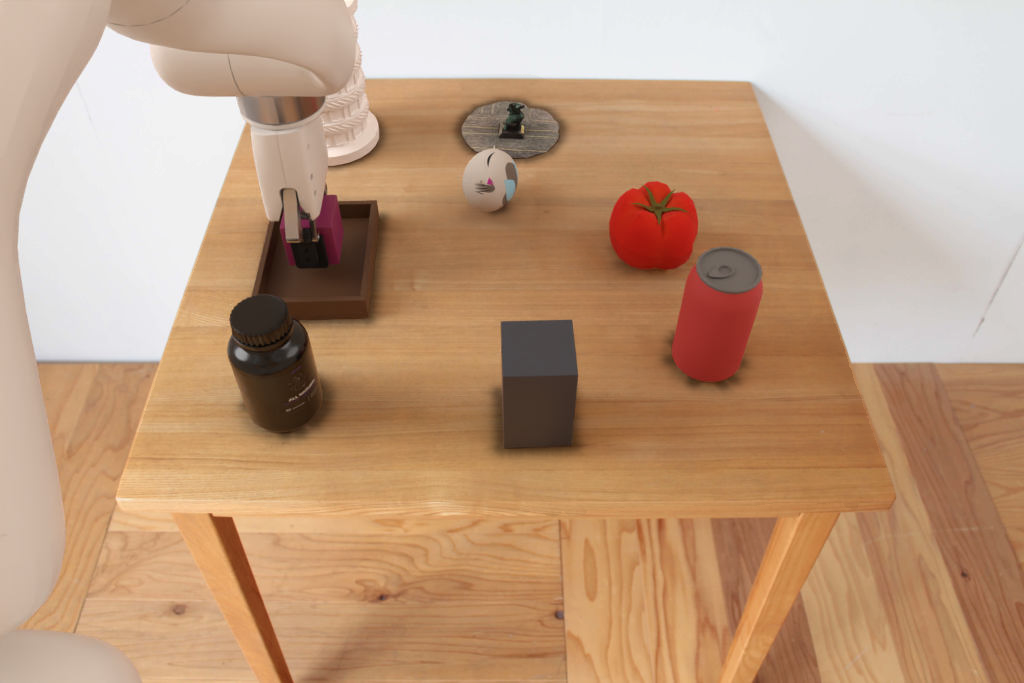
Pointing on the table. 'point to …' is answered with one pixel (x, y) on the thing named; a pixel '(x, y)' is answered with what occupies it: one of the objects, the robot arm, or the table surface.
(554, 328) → the bottom block
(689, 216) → the tomato
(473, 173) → the figurine
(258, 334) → the supplement bottle
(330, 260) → the top block
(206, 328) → the table surface
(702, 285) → the beer can
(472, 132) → the sculpture
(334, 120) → the white tower model
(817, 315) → the table surface
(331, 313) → the tray
